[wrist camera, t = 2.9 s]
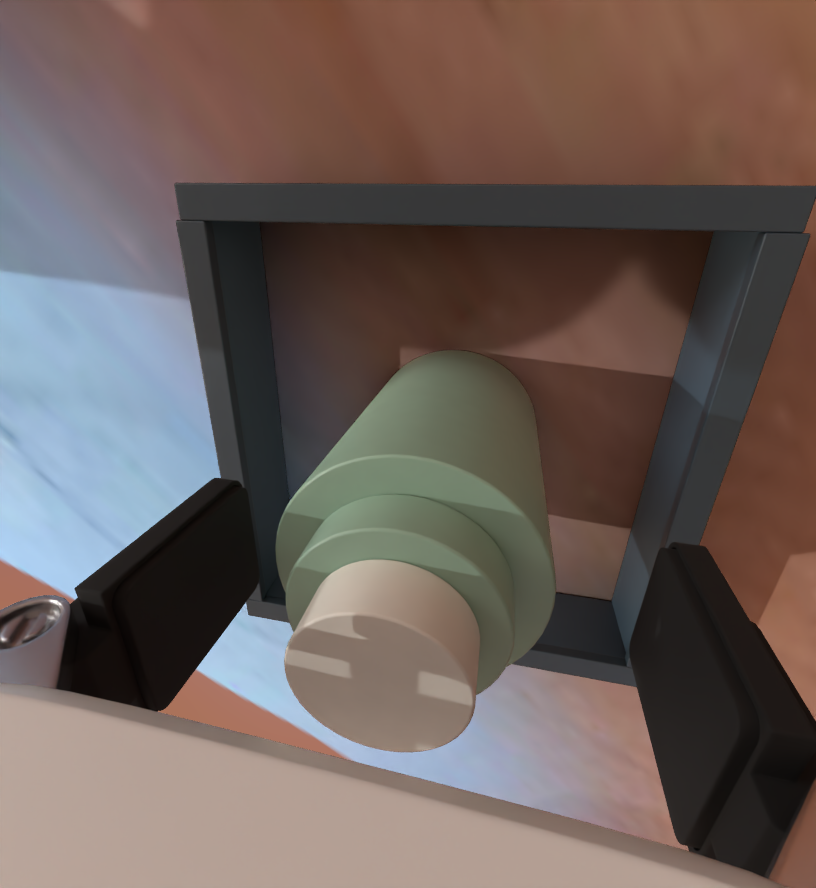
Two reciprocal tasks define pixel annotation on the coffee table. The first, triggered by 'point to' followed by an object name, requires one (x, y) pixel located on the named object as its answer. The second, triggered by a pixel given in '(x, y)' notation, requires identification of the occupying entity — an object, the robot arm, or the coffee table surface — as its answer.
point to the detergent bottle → (418, 555)
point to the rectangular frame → (508, 205)
